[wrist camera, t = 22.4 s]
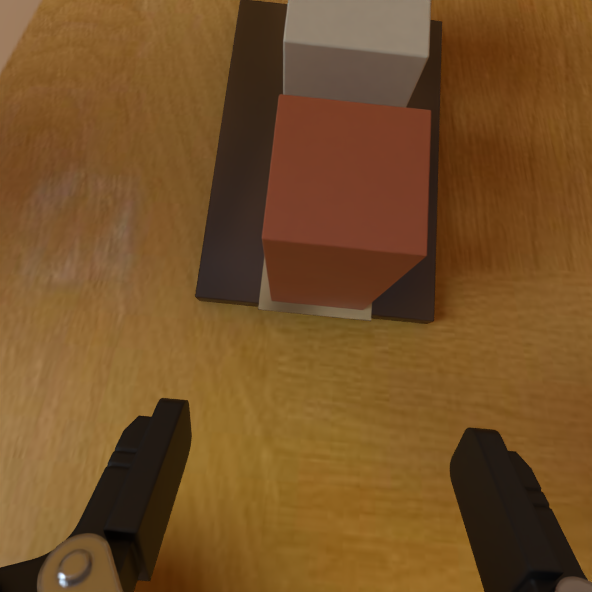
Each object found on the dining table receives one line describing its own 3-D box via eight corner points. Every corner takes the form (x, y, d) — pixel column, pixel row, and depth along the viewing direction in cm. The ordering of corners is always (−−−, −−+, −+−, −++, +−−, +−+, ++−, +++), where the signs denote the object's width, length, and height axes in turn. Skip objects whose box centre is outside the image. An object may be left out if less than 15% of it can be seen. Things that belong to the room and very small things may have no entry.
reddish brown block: (364, 310, 20) (429, 256, 11) (269, 301, 20) (259, 239, 11) (369, 223, 21) (433, 109, 12) (279, 214, 21) (277, 92, 12)
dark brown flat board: (198, 306, 21) (193, 302, 20) (241, 13, 24) (240, -4, 23) (427, 329, 21) (434, 327, 20) (436, 34, 25) (443, 19, 23)
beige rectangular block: (282, 180, 21) (281, 40, 12) (290, 105, 22) (295, -77, 13) (369, 190, 21) (431, 57, 12) (374, 114, 22) (435, -61, 13)
